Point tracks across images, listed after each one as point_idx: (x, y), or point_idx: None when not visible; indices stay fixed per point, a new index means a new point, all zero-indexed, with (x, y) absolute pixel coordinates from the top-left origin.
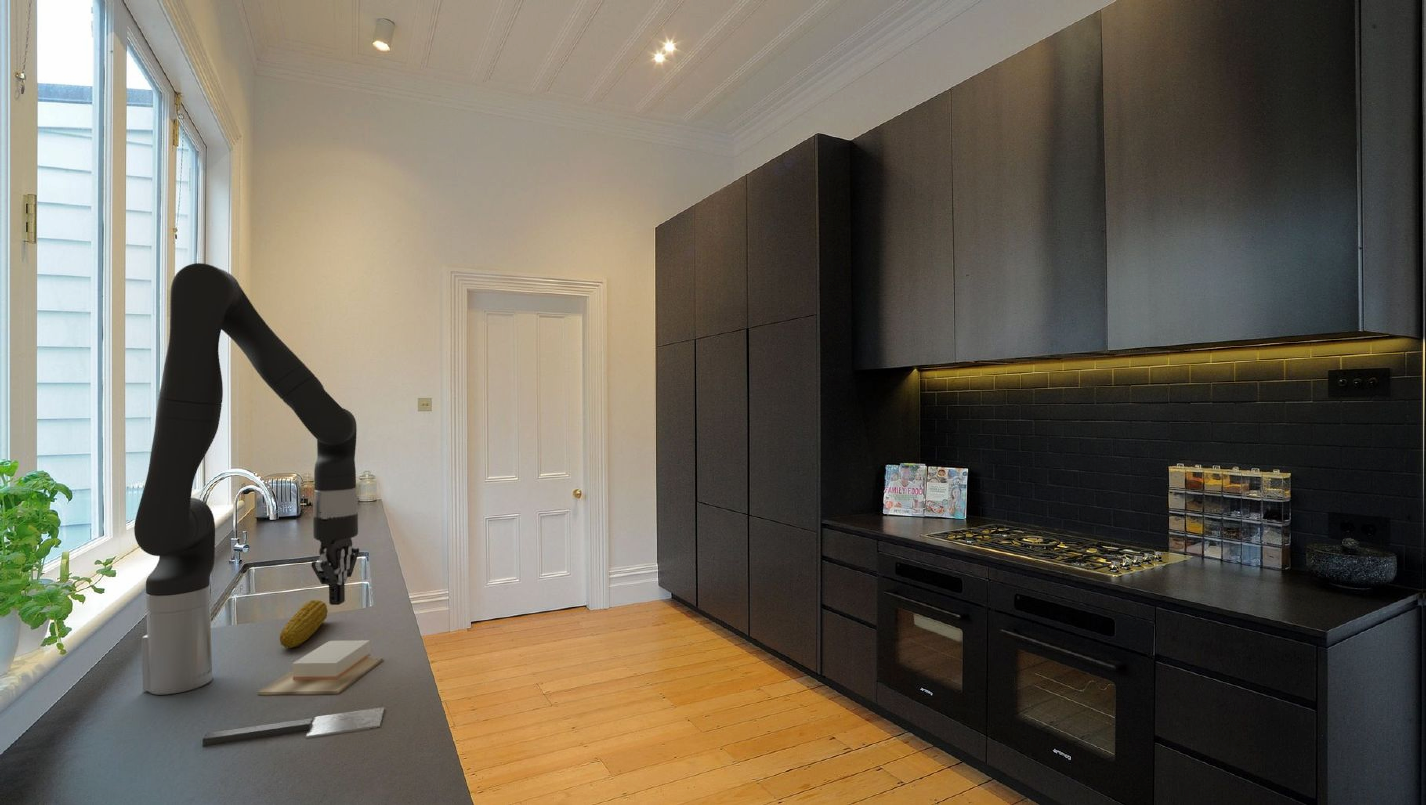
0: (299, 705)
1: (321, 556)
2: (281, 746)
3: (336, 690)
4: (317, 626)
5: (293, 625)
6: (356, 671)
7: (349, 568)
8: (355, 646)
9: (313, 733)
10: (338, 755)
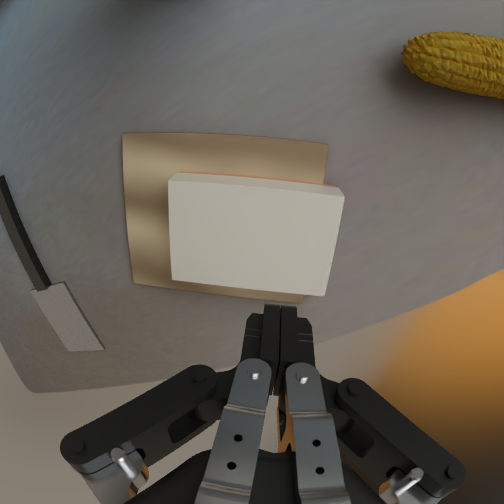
0: (91, 238)
1: (100, 501)
2: (14, 271)
3: (136, 279)
4: None
5: (458, 60)
6: None
7: (340, 445)
8: (282, 280)
9: (35, 296)
10: (24, 327)
